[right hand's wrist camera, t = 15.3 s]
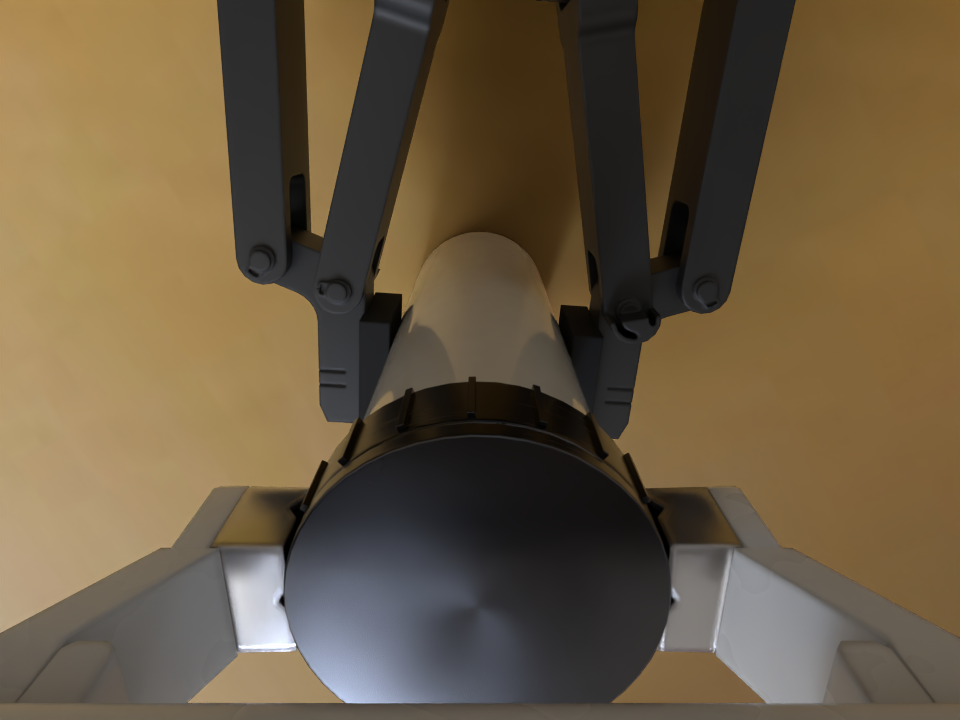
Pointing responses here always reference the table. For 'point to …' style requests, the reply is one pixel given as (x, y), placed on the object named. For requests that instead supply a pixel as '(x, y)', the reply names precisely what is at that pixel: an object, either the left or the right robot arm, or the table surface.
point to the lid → (477, 555)
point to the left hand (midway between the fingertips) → (466, 517)
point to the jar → (478, 325)
